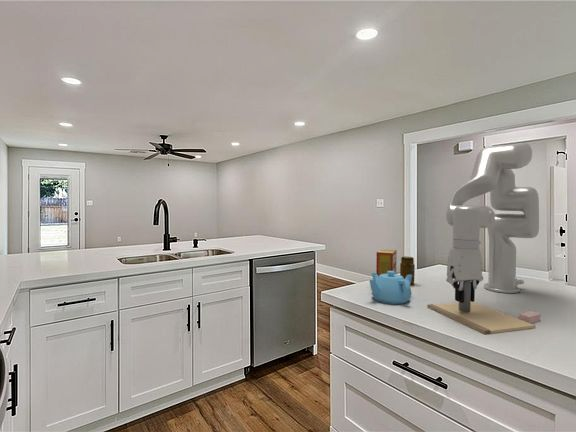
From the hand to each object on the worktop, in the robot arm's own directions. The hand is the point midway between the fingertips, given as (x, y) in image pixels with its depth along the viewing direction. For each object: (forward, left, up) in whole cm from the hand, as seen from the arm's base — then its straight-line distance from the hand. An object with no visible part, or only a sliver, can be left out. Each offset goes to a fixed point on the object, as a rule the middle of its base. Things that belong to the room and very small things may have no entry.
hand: (464, 300), depth 106 cm
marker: (0, 0, -3) cm, 3 cm away
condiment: (-6, -40, -5) cm, 41 cm away
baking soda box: (+6, -38, -5) cm, 38 cm away
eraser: (-15, +9, -5) cm, 19 cm away
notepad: (-2, +2, -5) cm, 6 cm away
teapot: (+14, -22, -5) cm, 26 cm away
